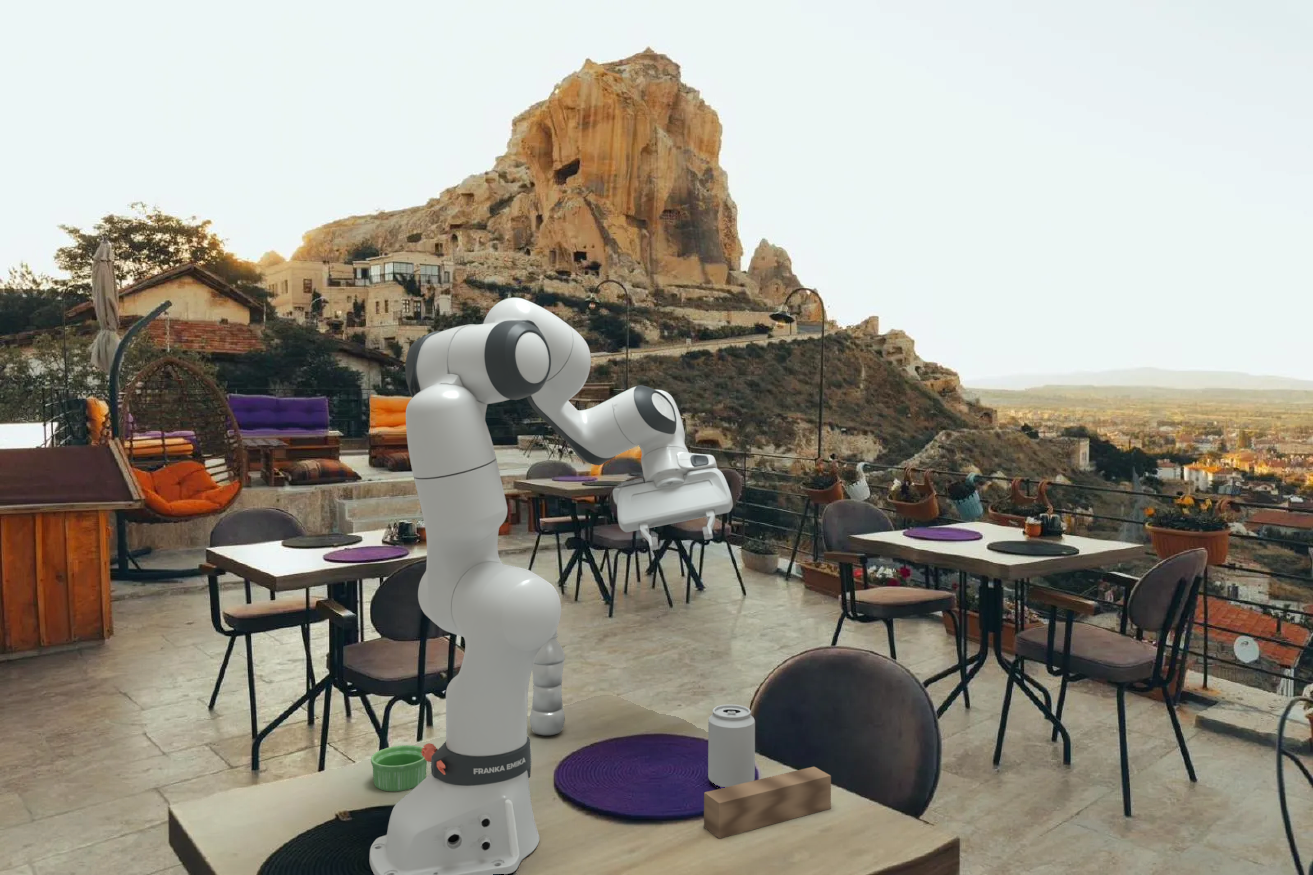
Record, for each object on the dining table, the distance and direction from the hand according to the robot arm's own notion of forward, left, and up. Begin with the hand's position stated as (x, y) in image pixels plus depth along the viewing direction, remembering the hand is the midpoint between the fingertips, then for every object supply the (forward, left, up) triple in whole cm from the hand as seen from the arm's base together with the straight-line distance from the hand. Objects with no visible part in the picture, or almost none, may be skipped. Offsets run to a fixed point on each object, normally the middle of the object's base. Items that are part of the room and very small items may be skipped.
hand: (681, 543), depth 148 cm
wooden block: (+1, -24, -38) cm, 45 cm away
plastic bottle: (-15, +24, -38) cm, 47 cm away
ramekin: (-44, +15, -38) cm, 60 cm away
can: (+3, -11, -38) cm, 40 cm away
